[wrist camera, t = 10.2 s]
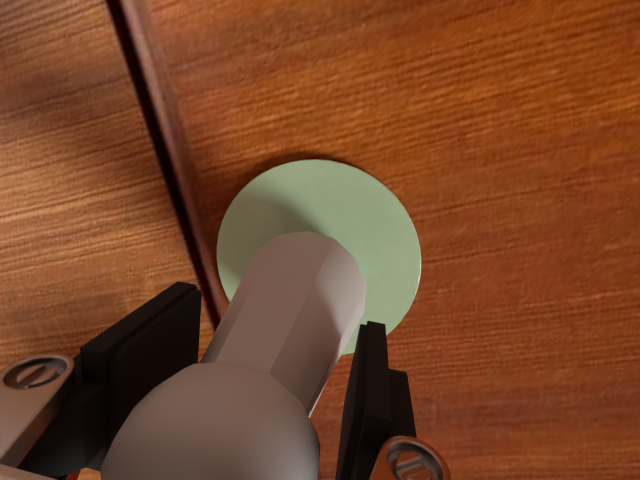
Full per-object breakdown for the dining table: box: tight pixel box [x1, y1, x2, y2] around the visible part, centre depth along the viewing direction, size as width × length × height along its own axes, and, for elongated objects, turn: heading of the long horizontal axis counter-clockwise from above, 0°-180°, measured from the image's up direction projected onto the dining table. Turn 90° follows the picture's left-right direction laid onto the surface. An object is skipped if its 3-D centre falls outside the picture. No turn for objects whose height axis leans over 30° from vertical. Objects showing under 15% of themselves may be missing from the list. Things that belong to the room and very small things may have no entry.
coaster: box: [217, 159, 421, 355], centre depth 19 cm, size 11×11×1 cm
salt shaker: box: [101, 231, 367, 480], centre depth 12 cm, size 6×6×13 cm
